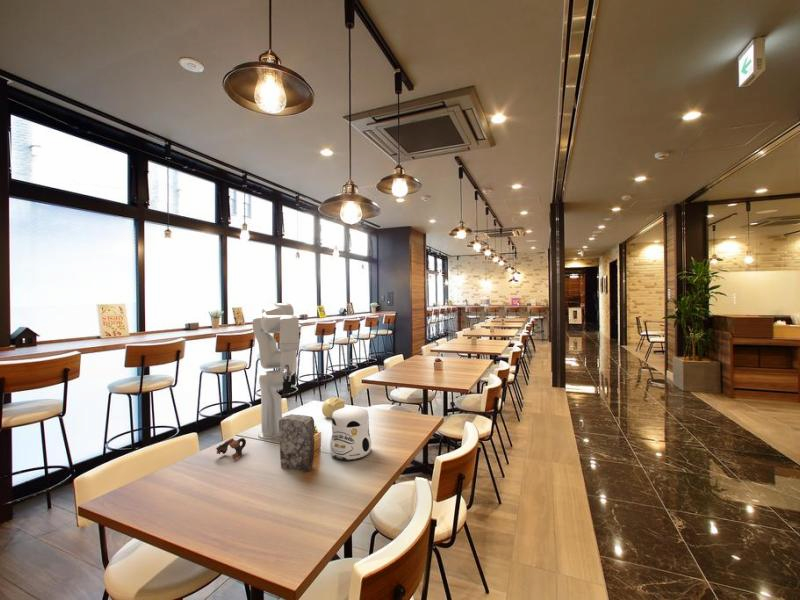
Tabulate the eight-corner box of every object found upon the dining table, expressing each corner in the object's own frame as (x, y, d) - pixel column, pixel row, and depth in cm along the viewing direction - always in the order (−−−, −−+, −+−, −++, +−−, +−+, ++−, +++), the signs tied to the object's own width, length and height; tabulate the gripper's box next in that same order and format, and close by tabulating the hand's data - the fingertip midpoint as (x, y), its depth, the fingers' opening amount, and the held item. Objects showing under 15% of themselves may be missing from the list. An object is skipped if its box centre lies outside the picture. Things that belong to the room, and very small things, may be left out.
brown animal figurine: (229, 464, 141) (219, 446, 141) (219, 469, 146) (209, 451, 146) (254, 446, 151) (245, 430, 151) (243, 451, 156) (234, 435, 156)
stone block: (277, 470, 135) (277, 418, 135) (287, 463, 141) (287, 413, 142) (308, 474, 131) (307, 420, 132) (317, 466, 138) (316, 415, 139)
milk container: (330, 466, 138) (329, 421, 138) (329, 448, 155) (329, 407, 155) (373, 461, 142) (373, 417, 142) (368, 444, 158) (368, 405, 158)
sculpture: (334, 421, 189) (334, 401, 189) (317, 417, 195) (317, 398, 195) (347, 415, 199) (347, 396, 199) (331, 412, 205) (331, 393, 205)
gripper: (284, 343, 151) (284, 382, 152) (274, 350, 134) (274, 394, 135) (302, 343, 152) (302, 382, 153) (294, 349, 135) (294, 393, 135)
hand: (289, 388), depth 144 cm, fingers open, 9 cm apart
